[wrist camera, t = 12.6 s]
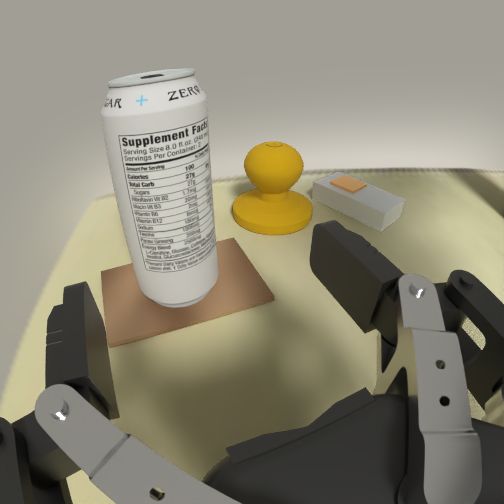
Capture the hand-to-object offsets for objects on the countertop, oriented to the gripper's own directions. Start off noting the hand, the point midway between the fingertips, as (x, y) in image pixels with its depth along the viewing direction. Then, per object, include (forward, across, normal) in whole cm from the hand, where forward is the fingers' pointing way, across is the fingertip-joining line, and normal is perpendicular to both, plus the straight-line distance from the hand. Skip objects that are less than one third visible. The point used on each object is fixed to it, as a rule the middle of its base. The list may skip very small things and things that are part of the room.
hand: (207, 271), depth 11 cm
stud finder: (+15, -21, +10) cm, 28 cm away
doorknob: (+18, -11, +10) cm, 23 cm away
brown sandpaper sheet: (+11, 0, +10) cm, 14 cm away
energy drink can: (+10, 0, +10) cm, 14 cm away
